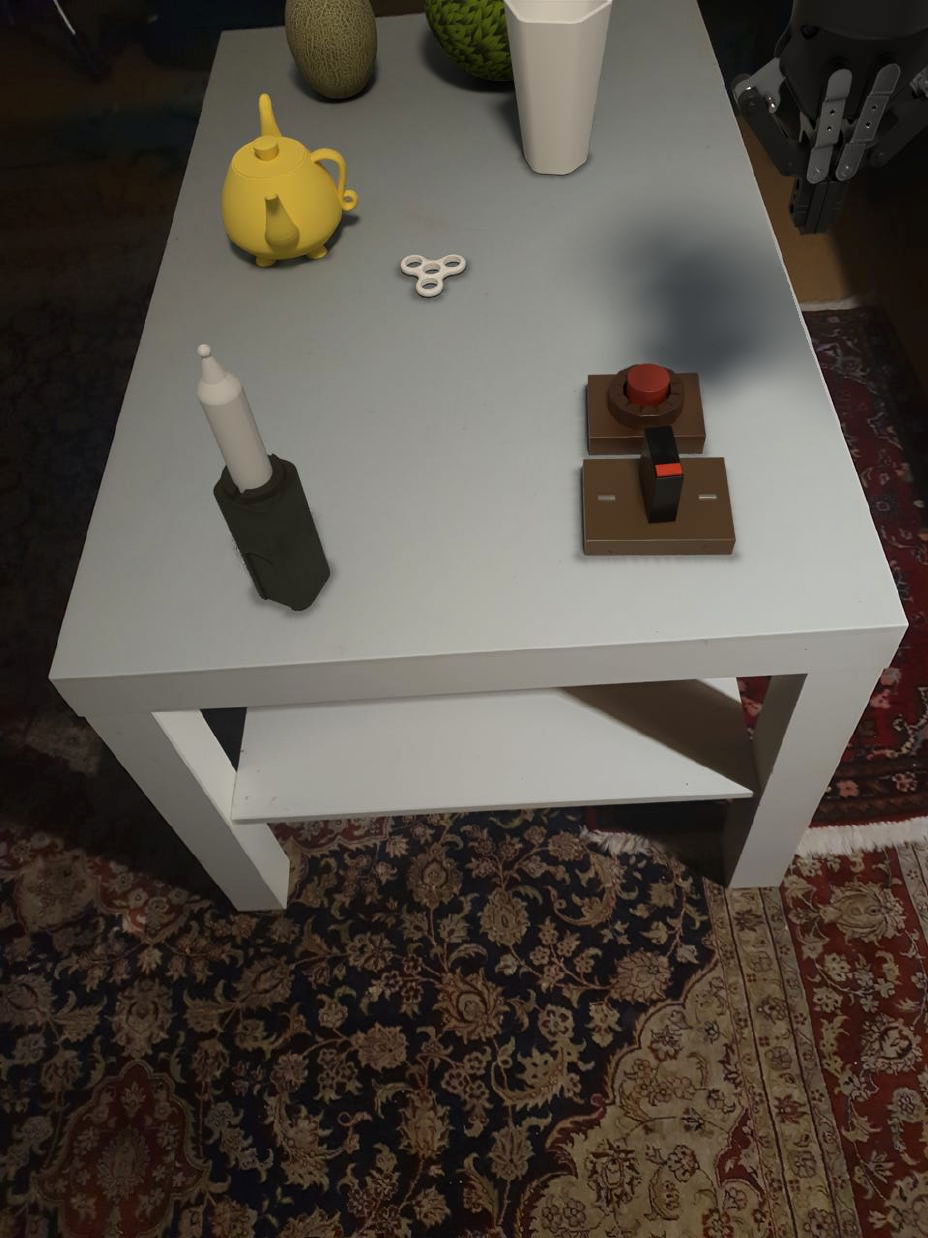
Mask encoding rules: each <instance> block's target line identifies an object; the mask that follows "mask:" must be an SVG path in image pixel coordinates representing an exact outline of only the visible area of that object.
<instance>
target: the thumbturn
mask: <svg viewBox="0 0 928 1238" xmlns="http://www.w3.org/2000/svg"><path fill="white" fill-rule="evenodd" d="M640 458H641V459H640V467H639V478H640V483H641V488H642V493H643V497H644V502H645V507H646V511H647V516H648V521H649V523H650V524H651V523H662V522H674V521H676V516H677V511H678V506H679V501H680V495H681V490H682V485H683V480H684V474H683V470H682V466H681V462H680V458H681V457H680V454H678V449H677V445H676V441H675V437H674V433H673V429H672V426H660V427H649V428H645V429H644V436H643V444H642V451H641V454H640Z"/></svg>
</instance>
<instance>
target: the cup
mask: <svg viewBox="0 0 928 1238" xmlns="http://www.w3.org/2000/svg"><path fill="white" fill-rule="evenodd" d="M503 1H504V8H505V16H506V23H507V30H508V38H509V45H510V53H511V60H512V68H513V75H514V80H513V82H514V88H515V96H516V103H517V104H516V105H517V112H518V118H519V119H518V120H519V128H520V134H521V143H522V148H523V155H524V160H525V161H526V163H527V164H528V166H529V167H530V169H531V171H533V172H535V173H537V174H542V175H545V174H546V175H561V176H564V175H568V174H571V173H573V172H574V171H575V170H577V169H579V168H580V167H581V166H582V165H584V164H586V163H587V158H588V156H589V155H588V154H589V151H590V144H591V137H592V131H593V124H594V119H595V118H594V117H595V112H596V106H597V100H598V93H599V88H600V81H601V75H602V68H603V62H604V56H605V50H606V43H607V37H608V33H609V25H610V19H611V13H612V7H613V1H614V0H503Z"/></svg>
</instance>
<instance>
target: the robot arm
mask: <svg viewBox="0 0 928 1238" xmlns="http://www.w3.org/2000/svg"><path fill="white" fill-rule="evenodd" d="M784 82H785V84H786V86H787V88H788V89H789V92H790V93H791V96H792V97H793V99H794V101H795V103H796V105H797V106H798V109H799V111H800V113H799V121H800V130H799V137H798V140H795V139H792V138H790V136H789V134H788V132H787V131H786V130H785V128H784V127H783V124H781V122H780V120H779V118H778V117H777V115H776V114H775V113H776V112H777V110H778V107H779V106H780V104H781V99H782V97H781V94H780V87H781V85H782V84H783V83H784ZM730 91H731V93H732V95H733V98H734V100H735V103H736V105H737V108H738V110H739V112H740V115H741V116H742V118H743V119H744V120H745V122H746V124H747V125H748V126H749V128H750V130H751V131H752V133H753V134H754V136H755V137H756V139H757V140H758V142H759V144H760V145H761V146H762V148H763V149H764V151H765V153H766V154H767V155H768V157H769V159H770V160H771V162H772V164H773V165H774V166H775V168H776V169H777V171H778V173H779V174H780V175H781V176H783V177H792V176H793V175H794V180H793V185H792V189H791V193H790V196H789V201H788V204H787V209H788V215H789V217H790V219H791V222H792V224H793V226H794V228H797V231H798V232H799V235H800V236H801V237H802V236H803V237H804V236H814V235H815V236H816V235H823V234H824V235H825V234H827V231H828V228H829V225H833V224H835V223H836V222H837V221H838V219H839V217H840V215H841V213H842V212H841V211H842V207H843V205H844V201H845V199H846V195H847V192H848V188H849V185H850V182H851V179H852V178H853V177H854V175H855V174H856V173H857V172H858V171H860V170H861V169H863V168H865V167H868V166H871V167H874V168H880V167H882V166H884V165H886V164H887V163H888V162H889V161H891V159H892V158H894V157H895V156H896V155H897V154H898V153H899V152H900V151H901V150H902V149H903V148H904V147H905V146H907V144H908V143H910V141H911V140H912V139H913V138H914V137H916V136H917V135H918V134H920V132H921V131H922V130H924V128H925V127H926V126H928V0H793V1H792V10H791V17H790V19H789V22H788V24H787V26H786V28H785V30H784V32H783V33H782V34H781V36H780V37H779V39H778V41H777V42H776V44H775V48H774V58H773V59H771V60H770V61H769V62H767V63H766V64H765V65H763V66H762V67H761V68H760V69H758V70H757V71H756V72H754V74H752V75H750V74H749V73H746V72H745V73H740V74H738V75H737V76H735V77H734V78H733V80H732V82H731V84H730Z"/></svg>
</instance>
